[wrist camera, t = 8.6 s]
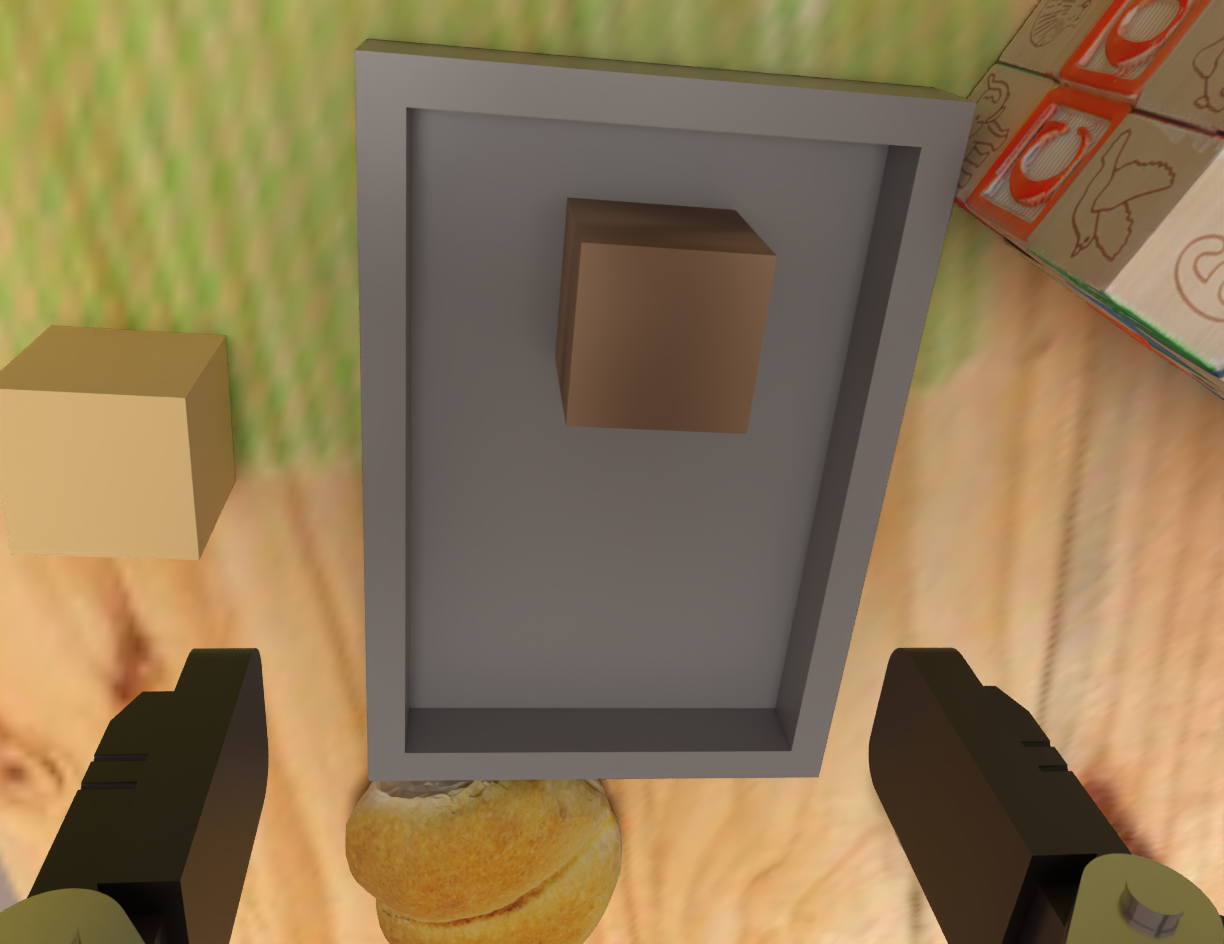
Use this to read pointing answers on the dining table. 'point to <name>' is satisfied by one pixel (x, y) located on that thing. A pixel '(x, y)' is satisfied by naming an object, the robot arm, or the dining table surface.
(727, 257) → the walnut block
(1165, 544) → the dining table surface
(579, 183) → the tray
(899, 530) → the dining table surface
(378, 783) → the bread roll
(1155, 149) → the stack of blocks
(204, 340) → the ochre block
